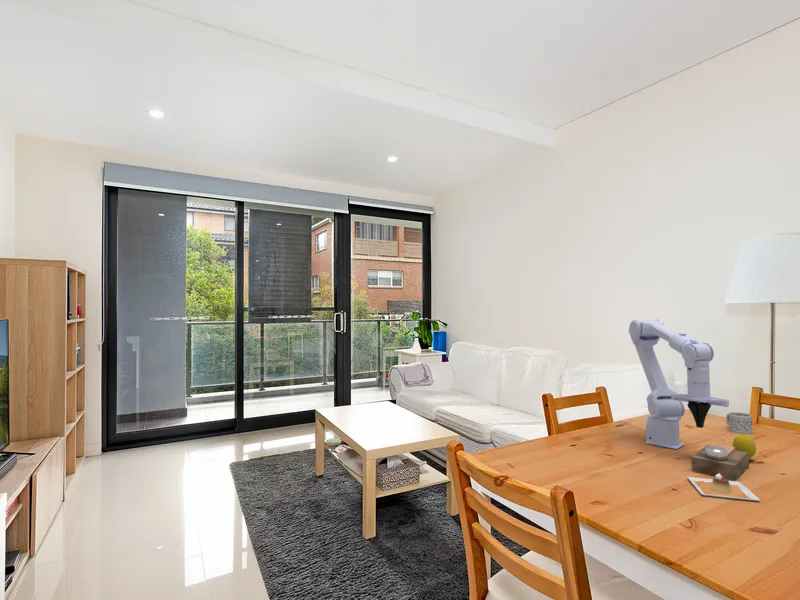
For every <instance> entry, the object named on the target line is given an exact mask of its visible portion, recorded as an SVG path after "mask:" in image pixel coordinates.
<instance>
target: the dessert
mask: <svg viewBox="0 0 800 600" xmlns="http://www.w3.org/2000/svg"><path fill="white" fill-rule="evenodd" d="M686 478H687V479H688V480H689V481H690V482H691V484H692V485H693V486H694V487H695V489H696V490H697V491H698V492H699V493H700V494H701V496H703V497H712V498H713V497H714V498H721V499H731V500H733V499H734V500H740V501H741V500H743V501H750V502H757V501H758V502H759V501H761V499H760V498H759V497H758V496H756V495H755V494H754V493H753V492H752V491H751V490H750V489H748V488H747V487H746V485H744V484H743V483H742V481H737V480H736V481H734V480H729V479H725V478H724V477H723V476H722V475H721V474H720V473H719V474H717V475H716V476H713V478H703V477H693V476H686ZM698 481H704V482H703V483H708V482H712V483H711V486H710V487H711V489H712V490H711V489H710V490H711V491H713V492H716V493H719V494H727V495H730V494H733V490H732V487H731V485H732V486H736V485H737V486H738V487H739V488H740V489H741V491H742V493H743V494H745V496H747V497H748V498H746V497H735V496H726V495H717V494H709V493H708V494H707V493H704V491H703V490H702V489H701V487H700V486H699V485H698V484H697V483H696V482H698ZM697 485H698V486H697ZM737 486H736V487H737ZM739 488H738V489H739ZM740 489H739V490H740Z"/></svg>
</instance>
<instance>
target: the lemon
mask: <svg viewBox="0 0 800 600" xmlns="http://www.w3.org/2000/svg"><path fill="white" fill-rule="evenodd" d="M732 447H735V450H737V451H742V452H748V459H751V458H753V457H754V456H755V454H756V452H757V445H756V443H755V440H754V439H753V438H752V437H751V436H750V435H746V434H738V435H736V436H735V437H734V438H733V441H732Z"/></svg>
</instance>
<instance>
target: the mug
mask: <svg viewBox="0 0 800 600" xmlns="http://www.w3.org/2000/svg"><path fill="white" fill-rule="evenodd" d="M752 417H753V415H752V414H749V413H745V412H738V411H737V412H735V411H734V412H732V411H731V412H729V413H727V414H726V425H727V426H728V427H729V432H730V431H731V433H733V432H735V433H734V434H737V433H741V434H750V435H752V434H753V419H752ZM741 434H740V435H741Z"/></svg>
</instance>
